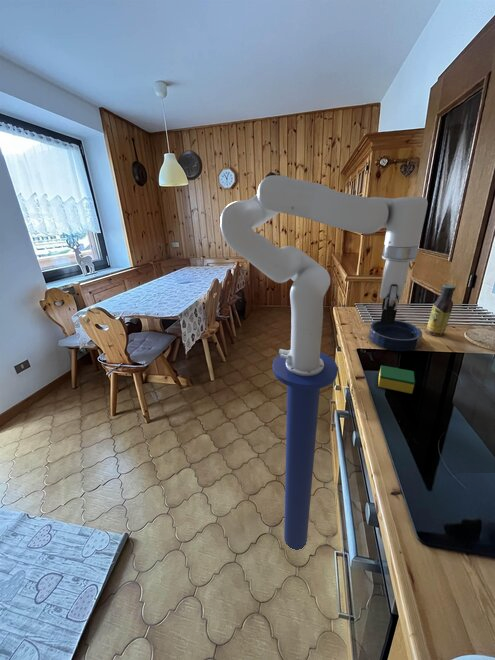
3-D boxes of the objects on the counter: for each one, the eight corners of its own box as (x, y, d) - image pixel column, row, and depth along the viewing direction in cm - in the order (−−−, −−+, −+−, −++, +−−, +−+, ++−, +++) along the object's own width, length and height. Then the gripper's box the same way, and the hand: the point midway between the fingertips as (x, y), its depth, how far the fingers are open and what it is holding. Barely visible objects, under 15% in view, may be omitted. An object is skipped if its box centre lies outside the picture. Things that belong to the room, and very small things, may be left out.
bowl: (366, 347, 105) (368, 335, 103) (370, 327, 120) (371, 317, 117) (420, 356, 98) (424, 343, 96) (417, 334, 113) (420, 323, 110)
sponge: (378, 386, 85) (380, 375, 83) (378, 375, 90) (381, 365, 88) (412, 393, 81) (415, 382, 80) (411, 382, 86) (413, 371, 84)
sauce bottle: (423, 329, 116) (435, 282, 107) (440, 330, 115) (454, 282, 106) (429, 336, 110) (442, 288, 102) (446, 337, 109) (462, 288, 100)
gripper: (383, 245, 78) (374, 303, 85) (381, 259, 64) (370, 327, 71) (414, 246, 75) (402, 306, 82) (419, 261, 61) (403, 331, 68)
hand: (387, 316), depth 77 cm, fingers open, 9 cm apart
